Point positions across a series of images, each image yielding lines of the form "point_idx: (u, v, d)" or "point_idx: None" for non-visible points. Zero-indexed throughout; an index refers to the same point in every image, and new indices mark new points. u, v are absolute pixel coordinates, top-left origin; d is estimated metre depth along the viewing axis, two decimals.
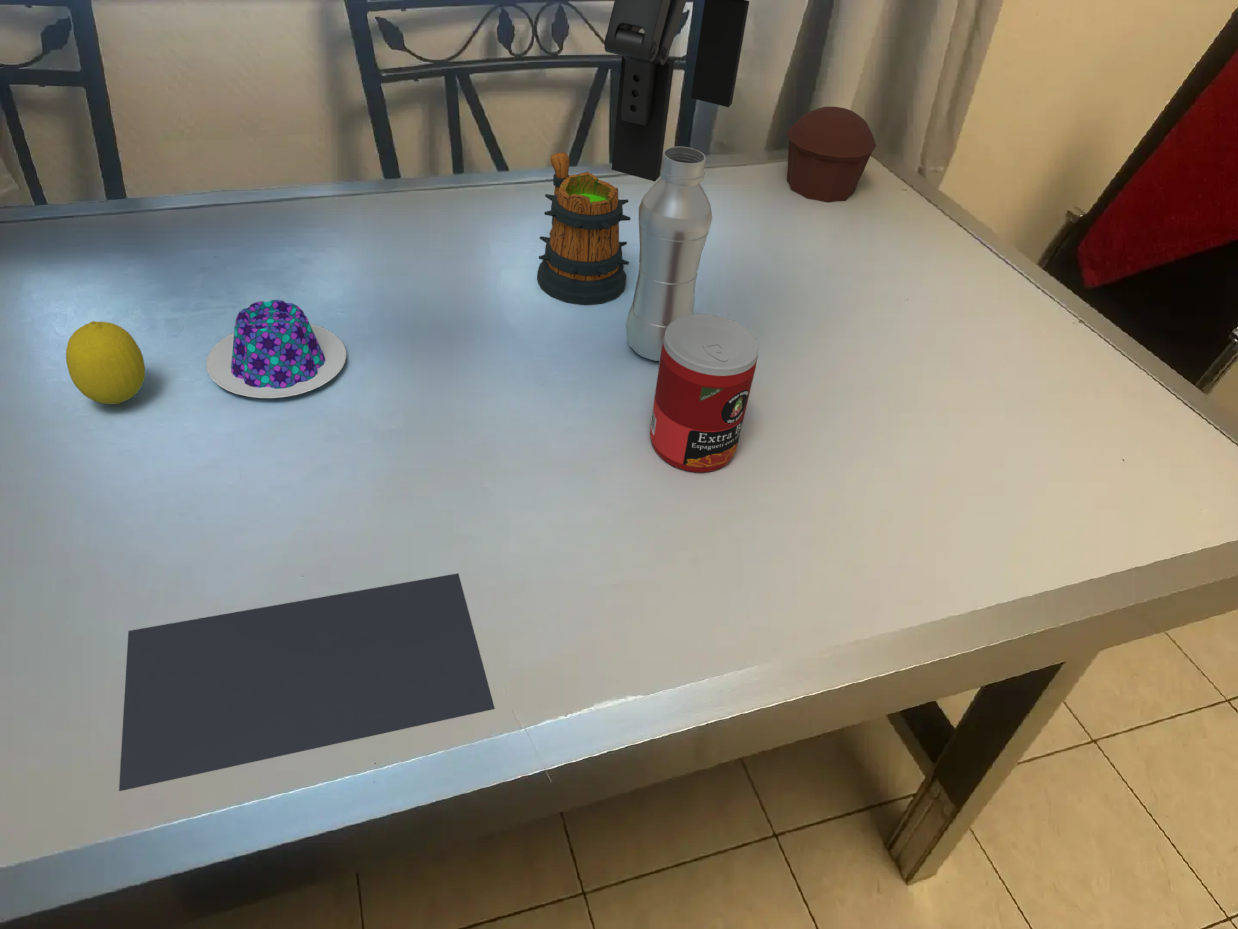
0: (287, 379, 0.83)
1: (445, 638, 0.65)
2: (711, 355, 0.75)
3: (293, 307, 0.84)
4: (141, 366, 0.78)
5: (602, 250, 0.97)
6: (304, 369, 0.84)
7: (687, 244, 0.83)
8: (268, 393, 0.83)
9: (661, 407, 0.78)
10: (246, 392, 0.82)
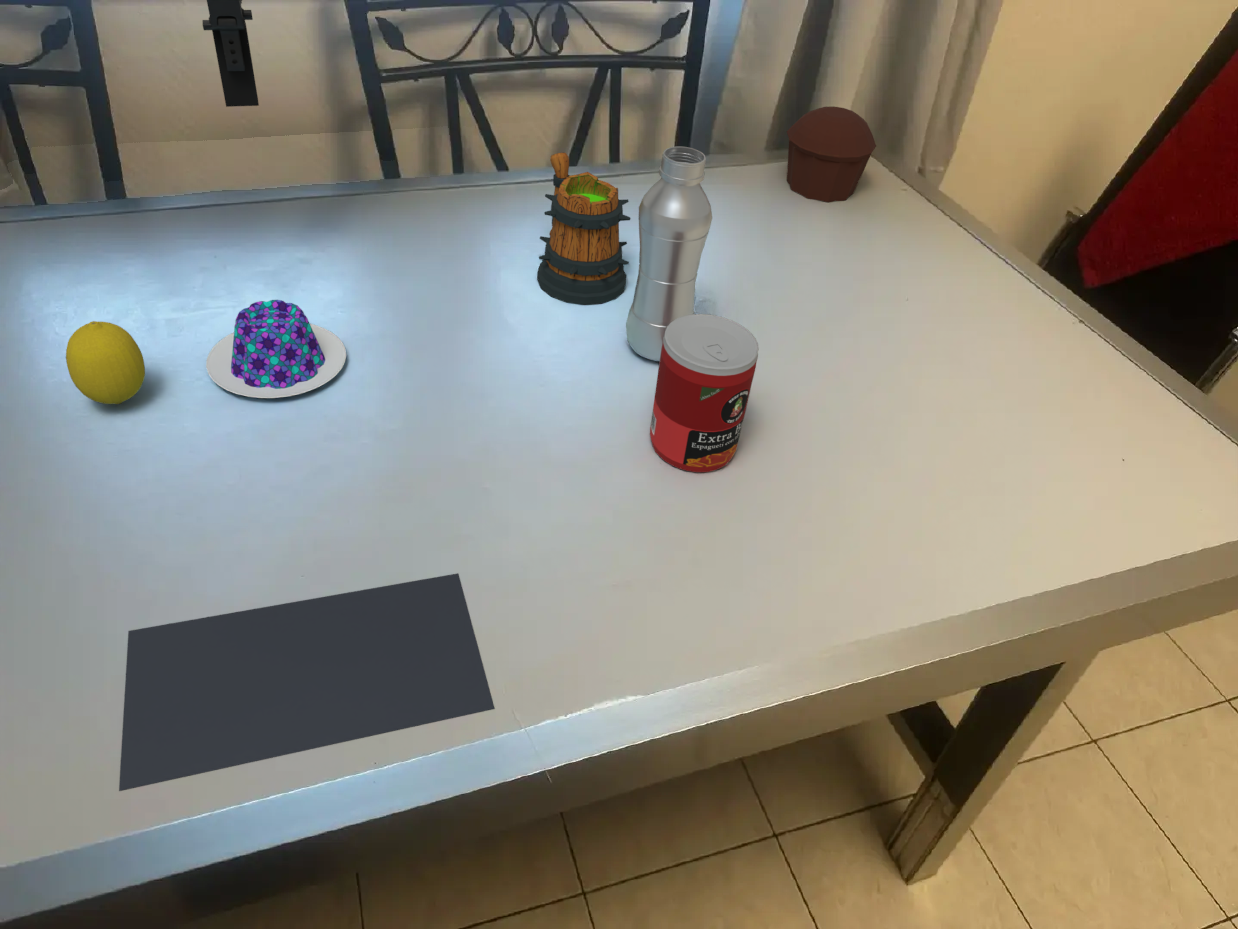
0: (287, 379, 0.83)
1: (445, 638, 0.65)
2: (711, 355, 0.75)
3: (293, 307, 0.84)
4: (141, 366, 0.78)
5: (602, 250, 0.97)
6: (304, 369, 0.84)
7: (687, 244, 0.83)
8: (268, 393, 0.83)
9: (661, 407, 0.78)
10: (246, 392, 0.82)
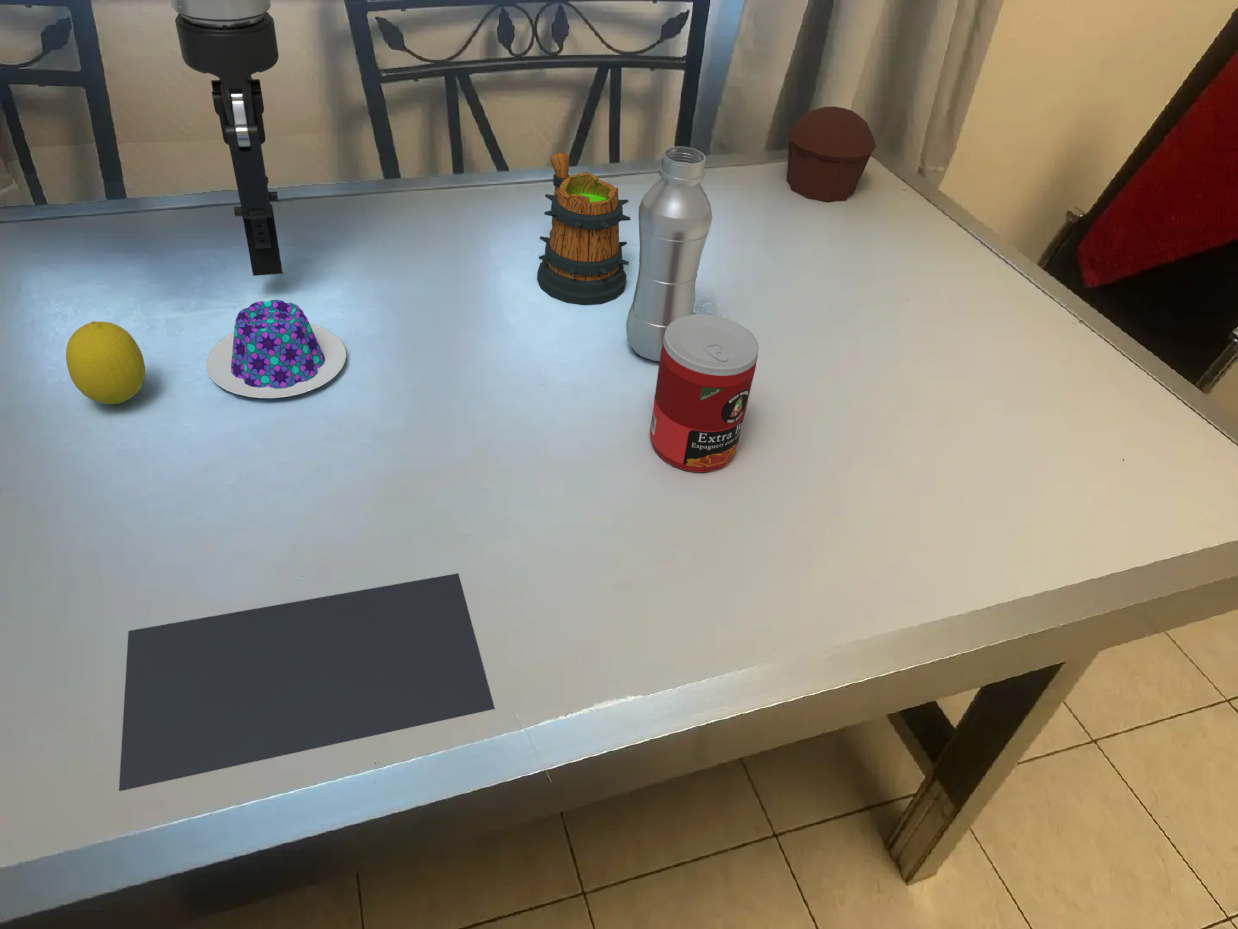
0: (287, 379, 0.83)
1: (445, 638, 0.65)
2: (711, 355, 0.75)
3: (293, 307, 0.84)
4: (141, 366, 0.78)
5: (602, 250, 0.97)
6: (304, 369, 0.84)
7: (687, 244, 0.83)
8: (268, 393, 0.83)
9: (661, 407, 0.78)
10: (246, 392, 0.82)
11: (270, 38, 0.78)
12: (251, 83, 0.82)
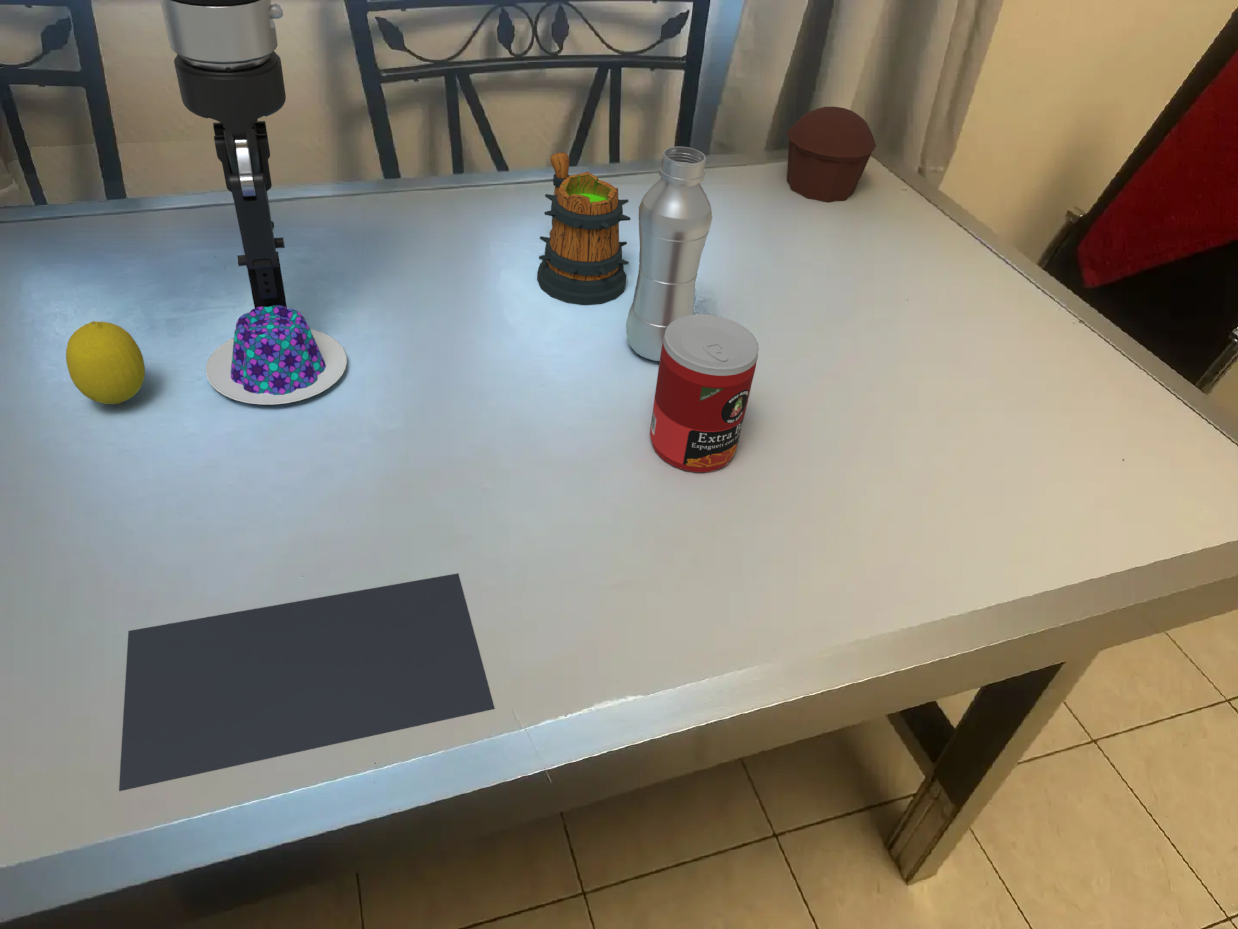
0: (286, 385, 0.83)
1: (445, 638, 0.65)
2: (711, 355, 0.75)
3: (293, 313, 0.84)
4: (141, 366, 0.78)
5: (602, 250, 0.97)
6: (303, 376, 0.83)
7: (687, 244, 0.83)
8: (266, 400, 0.82)
9: (661, 407, 0.78)
10: (244, 398, 0.81)
11: (277, 80, 0.72)
12: (256, 126, 0.76)
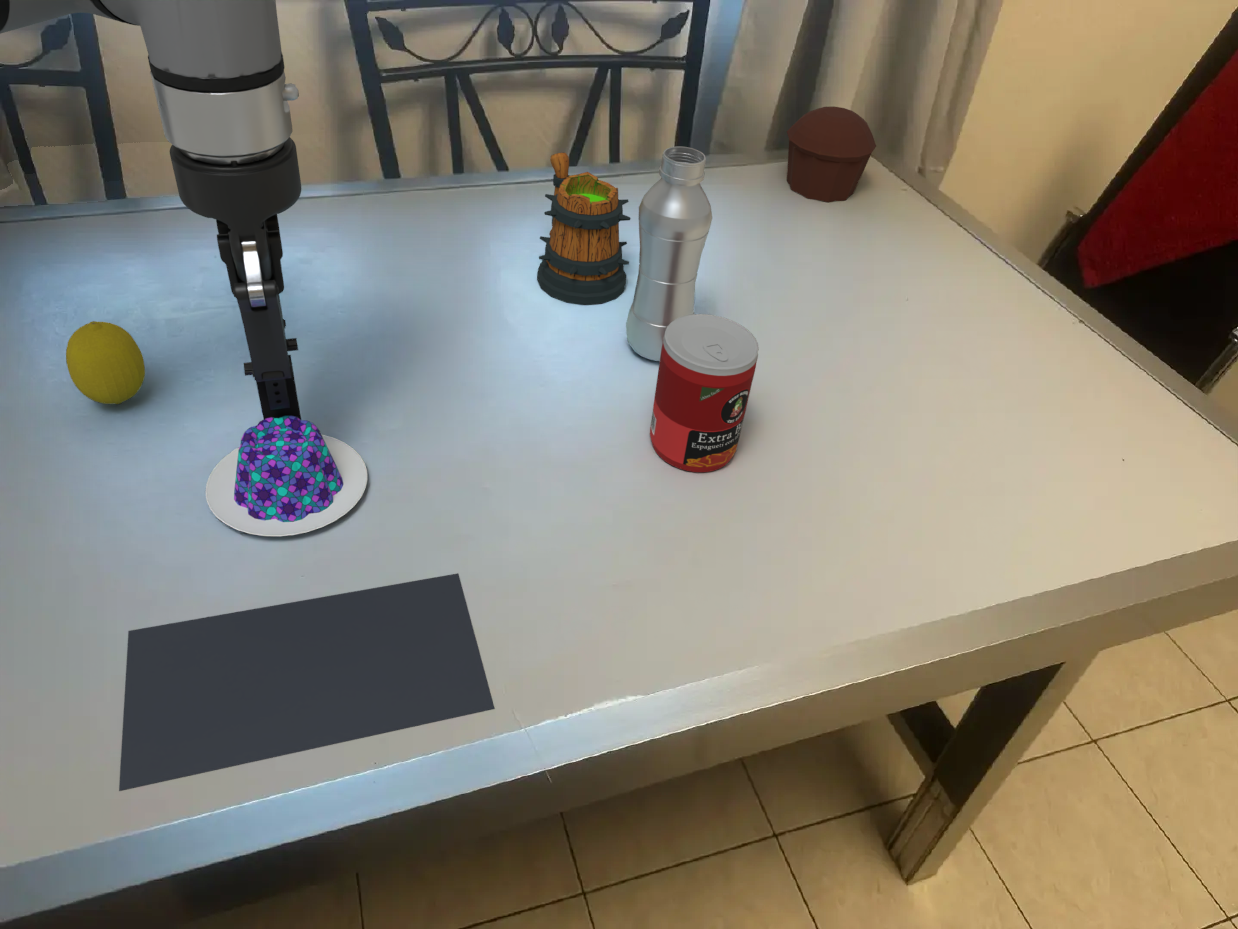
0: (297, 511, 0.71)
1: (445, 638, 0.65)
2: (711, 355, 0.75)
3: (307, 426, 0.72)
4: (141, 366, 0.78)
5: (602, 250, 0.97)
6: (317, 499, 0.72)
7: (687, 244, 0.83)
8: (273, 529, 0.71)
9: (661, 407, 0.78)
10: (248, 528, 0.70)
11: (292, 171, 0.61)
12: (266, 219, 0.65)
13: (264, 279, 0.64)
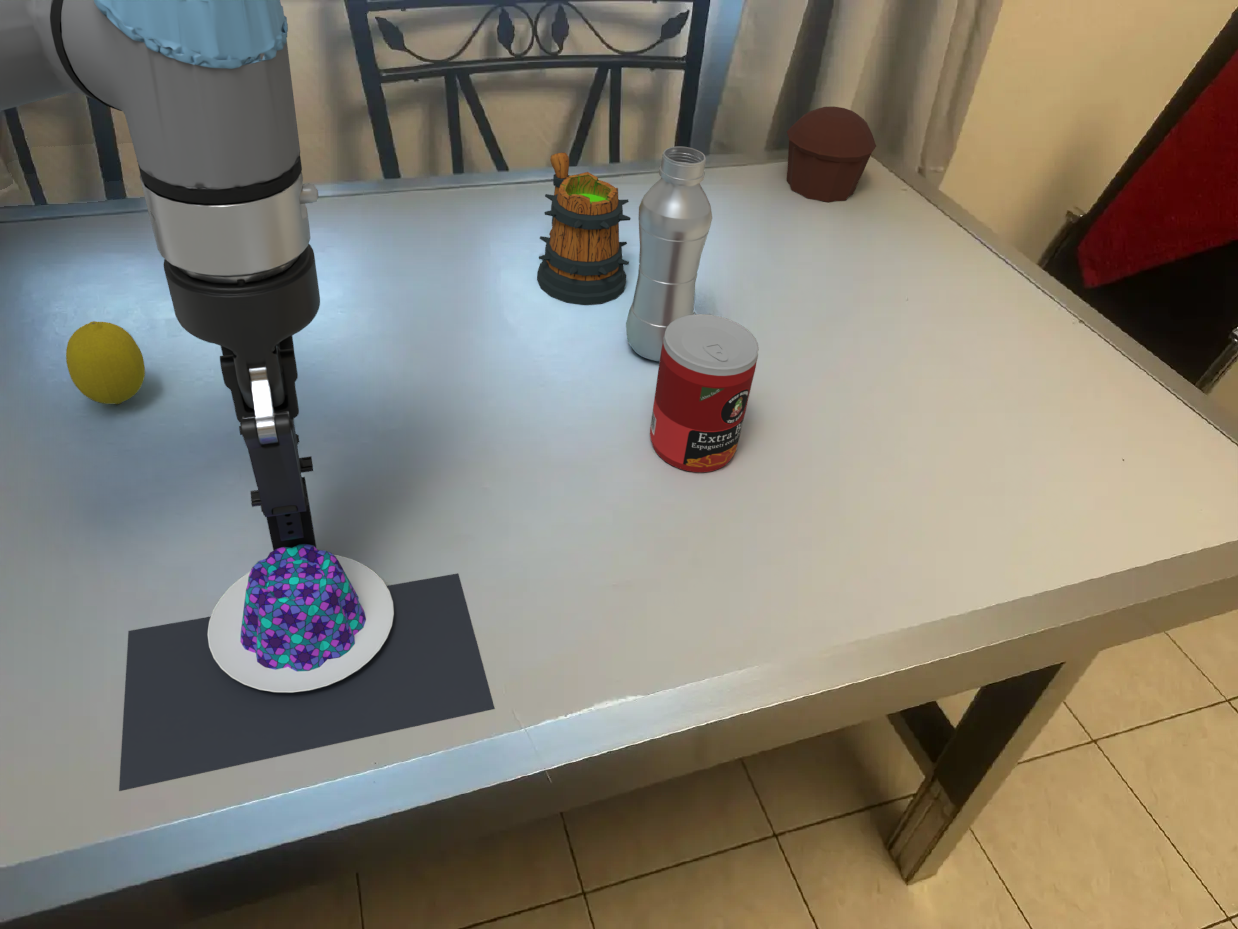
0: (313, 659, 0.62)
1: (445, 638, 0.65)
2: (711, 355, 0.75)
3: (325, 559, 0.63)
4: (141, 366, 0.78)
5: (602, 250, 0.97)
6: (337, 644, 0.62)
7: (687, 244, 0.83)
8: (286, 681, 0.61)
9: (661, 407, 0.78)
10: (257, 681, 0.61)
11: (310, 285, 0.51)
12: None
13: (275, 405, 0.54)
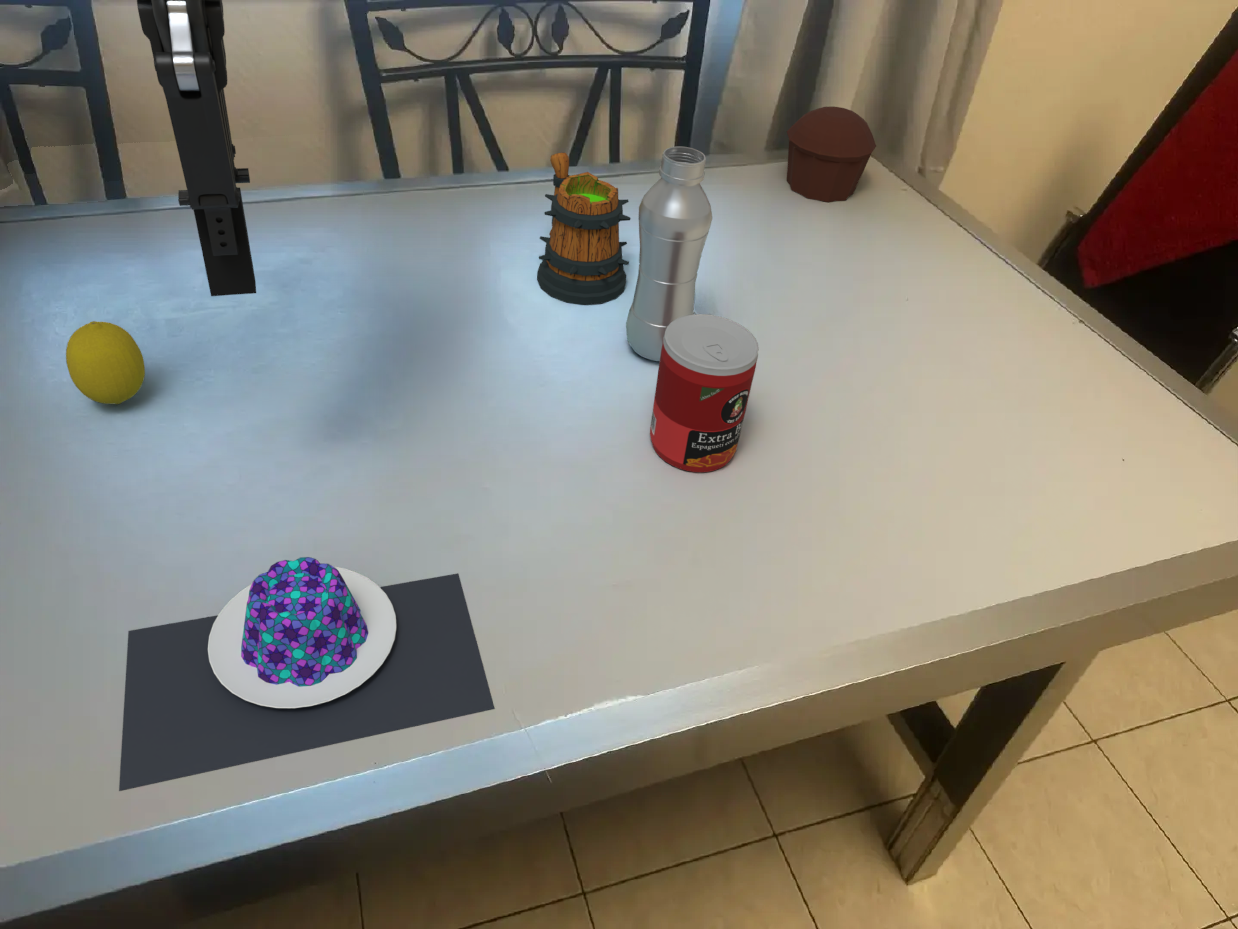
0: (315, 674, 0.61)
1: (445, 638, 0.65)
2: (711, 355, 0.75)
3: (327, 572, 0.62)
4: (141, 366, 0.78)
5: (602, 250, 0.97)
6: (339, 658, 0.62)
7: (687, 244, 0.83)
8: (288, 697, 0.60)
9: (661, 407, 0.78)
10: (258, 697, 0.60)
11: None
12: None
13: None
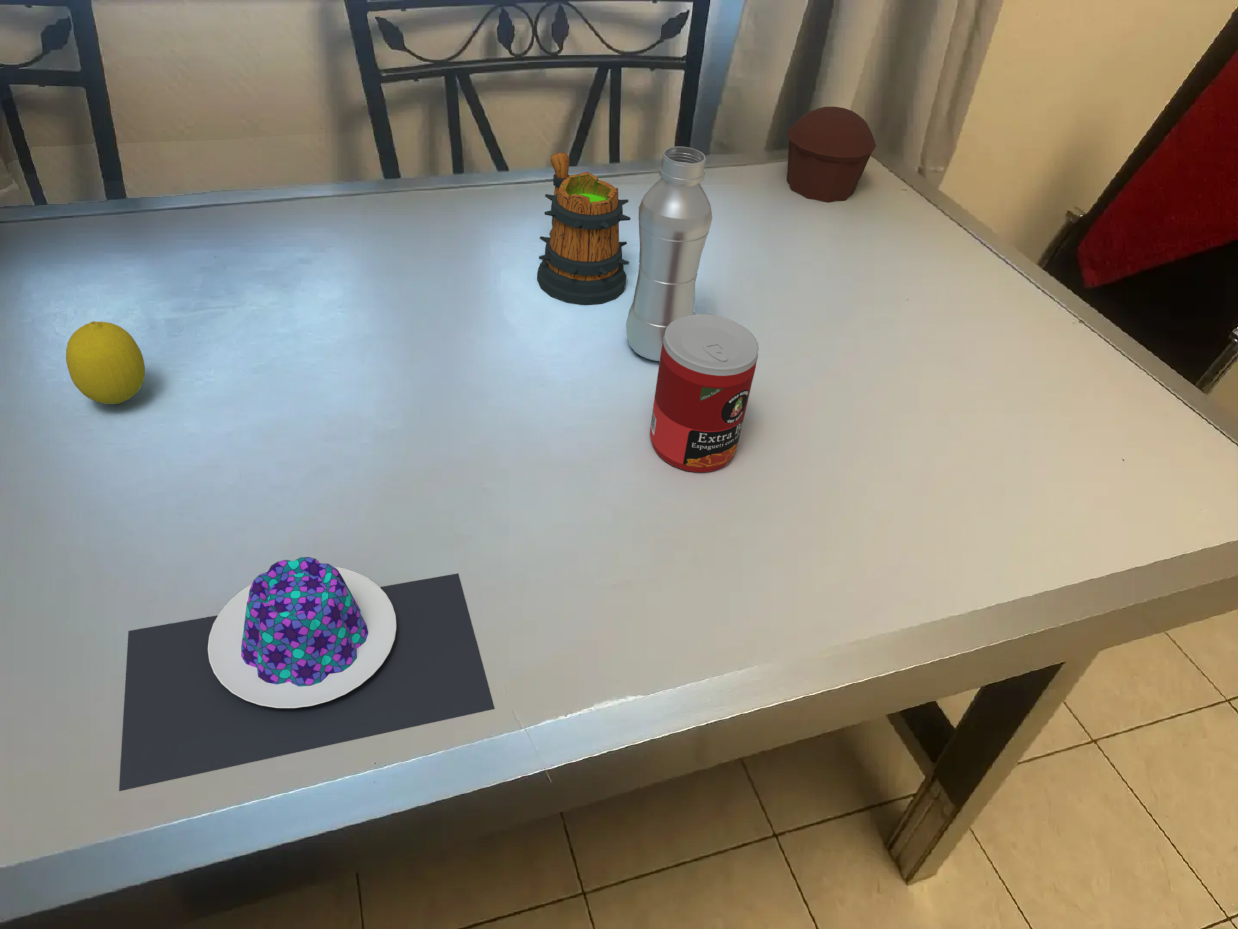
0: (315, 674, 0.61)
1: (445, 638, 0.65)
2: (711, 355, 0.75)
3: (327, 572, 0.62)
4: (141, 366, 0.78)
5: (602, 250, 0.97)
6: (339, 658, 0.62)
7: (687, 244, 0.83)
8: (288, 696, 0.60)
9: (661, 407, 0.78)
10: (258, 697, 0.60)
11: None
12: None
13: None
